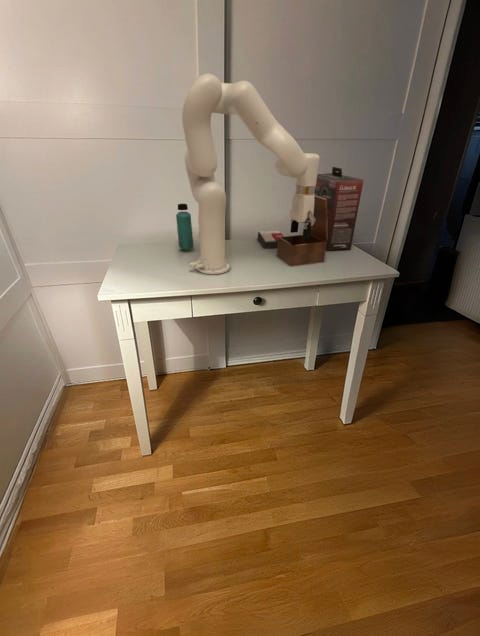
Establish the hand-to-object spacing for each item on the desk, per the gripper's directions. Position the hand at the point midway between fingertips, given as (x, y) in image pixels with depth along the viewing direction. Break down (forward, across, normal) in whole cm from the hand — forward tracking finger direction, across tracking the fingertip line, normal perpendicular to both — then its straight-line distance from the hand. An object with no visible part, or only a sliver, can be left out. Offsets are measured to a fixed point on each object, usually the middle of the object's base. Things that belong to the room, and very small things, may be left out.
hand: (299, 235), depth 126 cm
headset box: (+10, -16, +26) cm, 31 cm away
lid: (-7, 0, +7) cm, 10 cm away
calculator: (+10, -23, -1) cm, 25 cm away
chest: (+10, 0, +1) cm, 10 cm away
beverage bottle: (+11, -26, -42) cm, 50 cm away
